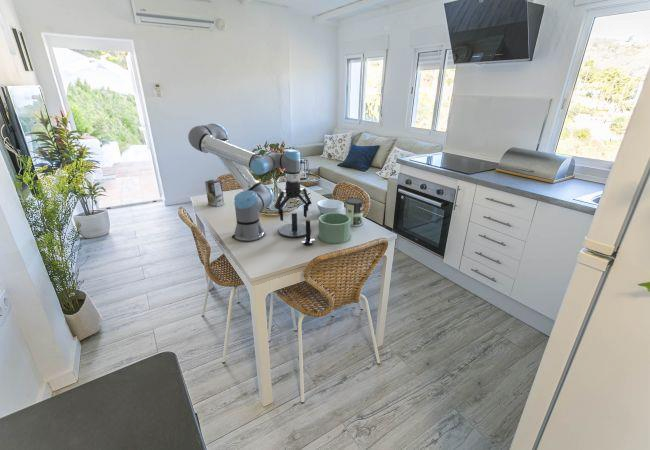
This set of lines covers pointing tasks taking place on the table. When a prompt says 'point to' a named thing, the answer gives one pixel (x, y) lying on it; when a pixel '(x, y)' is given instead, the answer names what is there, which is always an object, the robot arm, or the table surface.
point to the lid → (293, 228)
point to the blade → (307, 234)
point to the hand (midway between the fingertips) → (293, 218)
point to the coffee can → (354, 210)
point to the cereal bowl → (330, 206)
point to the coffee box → (214, 192)
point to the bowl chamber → (334, 227)
